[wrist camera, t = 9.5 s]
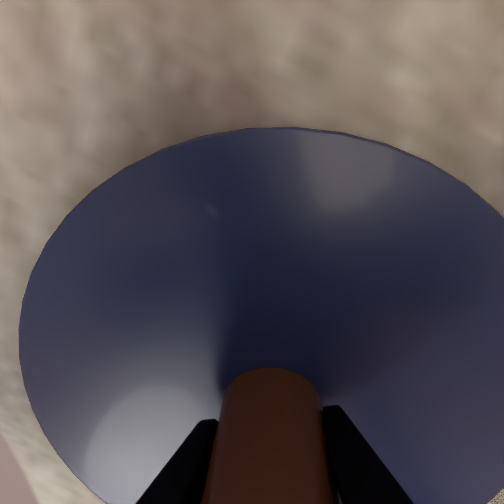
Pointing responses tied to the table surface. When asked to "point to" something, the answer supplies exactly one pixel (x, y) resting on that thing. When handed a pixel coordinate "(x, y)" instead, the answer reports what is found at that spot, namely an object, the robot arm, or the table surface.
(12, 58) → the table surface
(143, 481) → the tin lid
